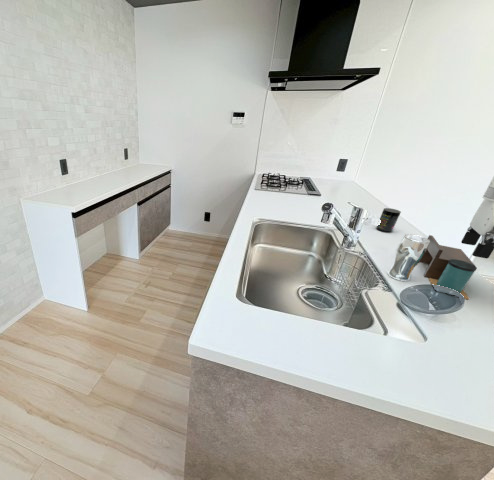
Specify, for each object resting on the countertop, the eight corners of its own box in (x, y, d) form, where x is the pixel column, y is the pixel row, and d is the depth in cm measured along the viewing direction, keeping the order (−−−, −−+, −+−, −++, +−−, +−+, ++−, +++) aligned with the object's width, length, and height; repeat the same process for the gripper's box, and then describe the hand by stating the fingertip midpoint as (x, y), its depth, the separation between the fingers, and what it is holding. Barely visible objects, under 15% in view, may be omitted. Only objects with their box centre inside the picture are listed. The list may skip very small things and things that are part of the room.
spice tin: (458, 285, 86) (472, 262, 82) (464, 295, 81) (480, 271, 77) (433, 279, 89) (446, 257, 85) (438, 289, 84) (452, 265, 80)
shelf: (450, 267, 97) (465, 241, 93) (462, 286, 87) (480, 258, 82) (416, 260, 102) (429, 235, 97) (424, 276, 91) (439, 249, 86)
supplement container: (390, 234, 125) (399, 213, 120) (374, 229, 129) (382, 209, 124) (393, 230, 129) (402, 210, 124) (377, 226, 133) (385, 207, 129)
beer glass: (410, 284, 87) (430, 245, 80) (384, 276, 91) (402, 238, 84) (411, 276, 91) (431, 238, 85) (387, 268, 95) (404, 231, 89)
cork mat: (459, 286, 86) (460, 285, 86) (468, 299, 80) (469, 298, 80) (428, 279, 90) (429, 277, 90) (434, 291, 84) (435, 289, 84)
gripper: (543, 205, 63) (504, 266, 70) (509, 190, 76) (479, 242, 83) (499, 200, 66) (466, 259, 73) (474, 186, 79) (448, 237, 87)
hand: (473, 250), depth 78 cm, fingers open, 9 cm apart
